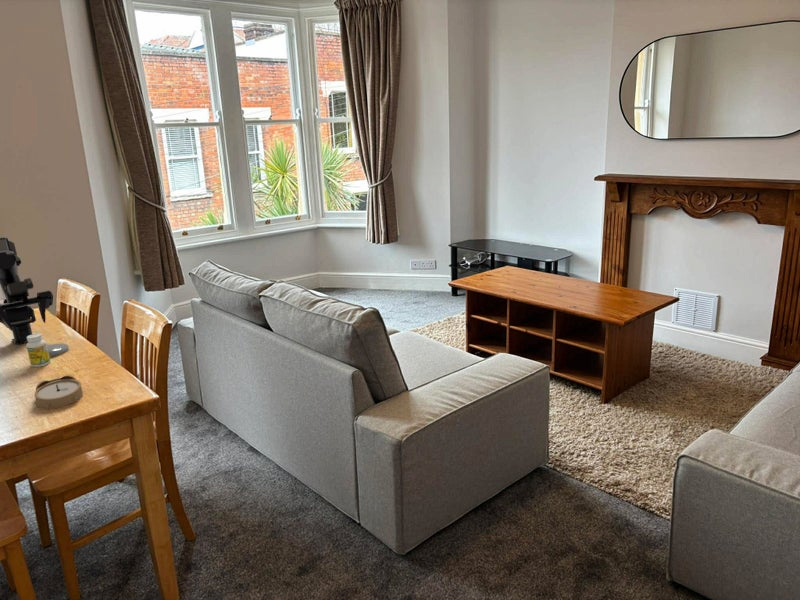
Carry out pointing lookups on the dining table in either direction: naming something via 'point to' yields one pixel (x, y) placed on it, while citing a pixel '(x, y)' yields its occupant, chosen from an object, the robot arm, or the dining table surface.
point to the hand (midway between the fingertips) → (28, 325)
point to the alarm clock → (58, 392)
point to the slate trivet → (57, 349)
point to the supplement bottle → (37, 350)
